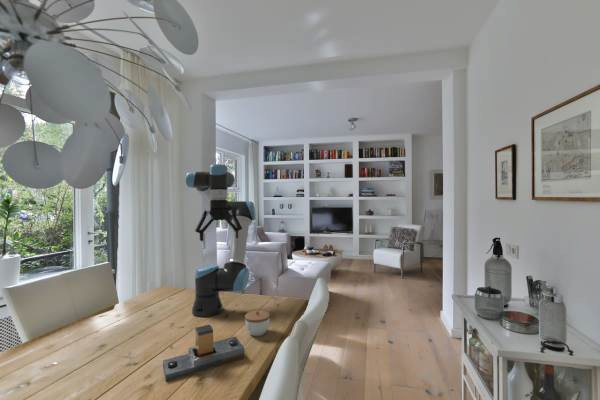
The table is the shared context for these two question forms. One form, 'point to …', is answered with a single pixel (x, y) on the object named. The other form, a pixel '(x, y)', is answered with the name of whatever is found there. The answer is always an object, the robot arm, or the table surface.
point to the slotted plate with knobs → (203, 359)
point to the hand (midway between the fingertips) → (219, 247)
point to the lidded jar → (257, 322)
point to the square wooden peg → (204, 341)
